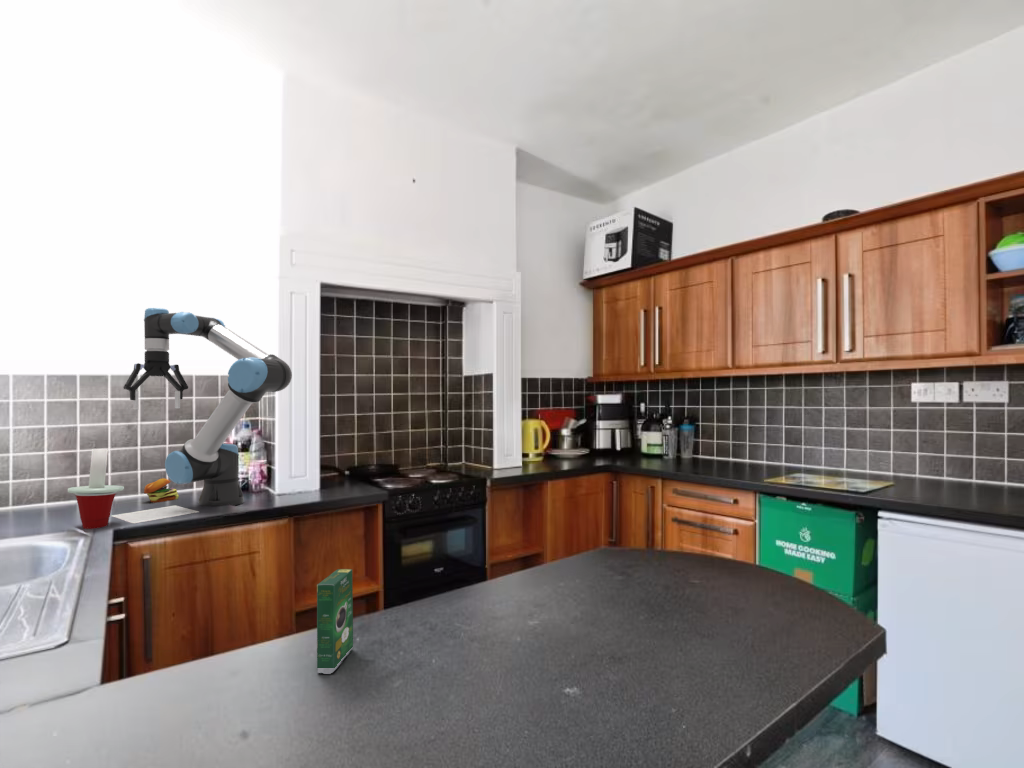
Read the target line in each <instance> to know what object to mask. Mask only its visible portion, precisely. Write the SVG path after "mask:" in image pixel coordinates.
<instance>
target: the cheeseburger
mask: <svg viewBox="0 0 1024 768" xmlns="http://www.w3.org/2000/svg"><path fill="white" fill-rule="evenodd" d="M171 482H172V481H171V480H170V479H167V478H159V479H157V480H156V481H153V482H150V483H148V484H146V485H145V486H144V489H143V493H144V494H146V495H147V496H148V498H149V501H150V503H154V504H158V503H165V502H169V501H170V502H171V501H176V500H179V498H180V496H179V492H178V490H177V489H176V488H174V487H168V484H170V483H171Z"/></svg>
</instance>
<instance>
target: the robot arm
mask: <svg viewBox="0 0 1024 768" xmlns="http://www.w3.org/2000/svg"><path fill="white" fill-rule="evenodd" d="M143 321H144V322H143V323H144V324H143V325H144V329H143V330H144V350H145V351H144V364H142V363H139V362H138V363H137V362H136V363H134V365H133V370H132V372H131V373H130V375H129V377H128V378H127V380H126V382H125V384H124V386H123V390H126V391H129V400H130V401H132V410H136V411H137V410H139V391H137V390H138V389H139V388H140V387H141V385H143V384H144V382H145V381H146V380H147V379H148V378H150V377H164V378H165V379H166V380H167V381H168V382H169V384H171V385H172V386H173V387H174V388H175V389H176V390H175V391H174V409H181V400H183V399H184V397H183V395H184V393H183V392H184V390H188V389H189V385H188V384H187V382H186V380H185V378H184V377H183V374H182V373H181V371H180V367H179V364H173V365H170V352H169V350H170V335H186V336H194V337H202V338H205V340H208V341H209V342H211V343H212V344H214V345H215V346H217V347H218V348H219V349H222V350H223V351H224V352H226V353H227V354H229V355H230V356H232V357H234V358H235V359H236V361H235V362H233V363H232V365H230V368H229V369H228V372H227V375H228V377H227V388H228V390H227V392H226V393H225V395H224V396H223V398H222V399H221V400H220V402H219V403H218V405H217V406H216V408H215V409H214V410H213V411H212V413H211V415H210V416H209V418H208V419H207V420H206V422H205V423H204V424H203V426H202V427H201V429H200V430H199V431H198V433H197V435H196V436H195V437H194V438H191V439H188V440H187V441H185V442H184V444H183V446H182V447H181V448H180V449H179V450H174V451H172V452H170V453H169V454H168V455H167V456H166V458H165V461H164V468H165V473H166V475H167V477H168V478H169V480H170V481H171V482H173V483H174V484H176V485H184V484H185V485H186V484H187V485H188V484H190V483H196V482H201V481H203V487H202V490H201V493H200V496H199V498H198V505H199V506H201V507H219V506H229V505H230V506H238V505H241V504H243V503H244V501H245V499H244V493H243V491H242V488H241V486H240V483H239V474H240V473H239V469H240V468H239V463H240V461H239V459H240V457H239V456H240V454H239V448H238V445H236V444H234V443H225V441H226V440H227V439H228V438H229V436H230V435H231V434H232V431H234V429H235V428H236V427H237V424H239V422H240V421H241V419H242V418H243V417H244V415H245V414H246V413H247V411H248V410H249V409H250V407H251V405H252V404H257V403H260V401H261V400H262V398H263V397H264V396H265V395H266V393H275V392H281V391H283V390H285V389H286V388H287V387H288V386H289V385H290V383H291V381H292V377H293V374H292V369H291V367H290V365H289V364H288V363H287V362H286V361H284V360H283V359H282V358H280V357H279V356H277V355H275V354H268V353H267V352H265V351H263V350H262V349H260V348H259V347H257V346H256V345H254V344H252V343H251V342H250V341H248V340H247V339H244V338H243V337H241V336H240V335H238V334H237V333H235V332H234V331H232V330H230V329H228V328H227V327H226V325H225V323H224V322H223V321H222V320H221V319H218V318H215V317H207V316H201V315H195V314H194V313H192V312H184V311H179V312H169V310H168V309H166V308H161V307H148V308H146V309H145V310H144V317H143ZM142 369H143V370H145V372H144V373H143V374H142V375H141V376H140V378H138V379H137V381H136V382H135V380H136V378H137V376H138V375H139V373H140V371H141V370H142ZM169 370H171V371H172V372H173V374H174V376H175V378H176V379H175V378H174V377H173V375H172V374H171V373H170V372H169Z"/></svg>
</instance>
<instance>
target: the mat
mask: <svg viewBox="0 0 1024 768" xmlns="http://www.w3.org/2000/svg"><path fill="white" fill-rule="evenodd" d="M196 513H200V511H198V510H194V509H190V508H187V507H182V506H179V505H176V504H175V505H168V506H162V507H156V508H151V509H145V510H144V509H143V510H138V511H132V512H125V513H119V514H113V515H111V517H113V518H115V519H117V520H118V519H119V520H122V521H125V522H126V523H130V524H138V523H144V522H151V521H155V520H162V519H168V518H173V517H179V516H185V515H191V514H196Z"/></svg>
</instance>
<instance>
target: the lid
mask: <svg viewBox="0 0 1024 768" xmlns="http://www.w3.org/2000/svg"><path fill="white" fill-rule="evenodd" d="M108 453H109V449H108V448H92V449H91V457H90V458H91V459H90V469H89V479H88V485H83V486H82V485H80V486H73V487H68V488H67V493H68V494H74V493H78V494H91V493H110V492H117V493H118V492H123V491H124V490H125V487H124V485H113V484H111V485H110V484H109V485H108V484H107V485H106V475H107V474H106V473H107V464H108Z"/></svg>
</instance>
